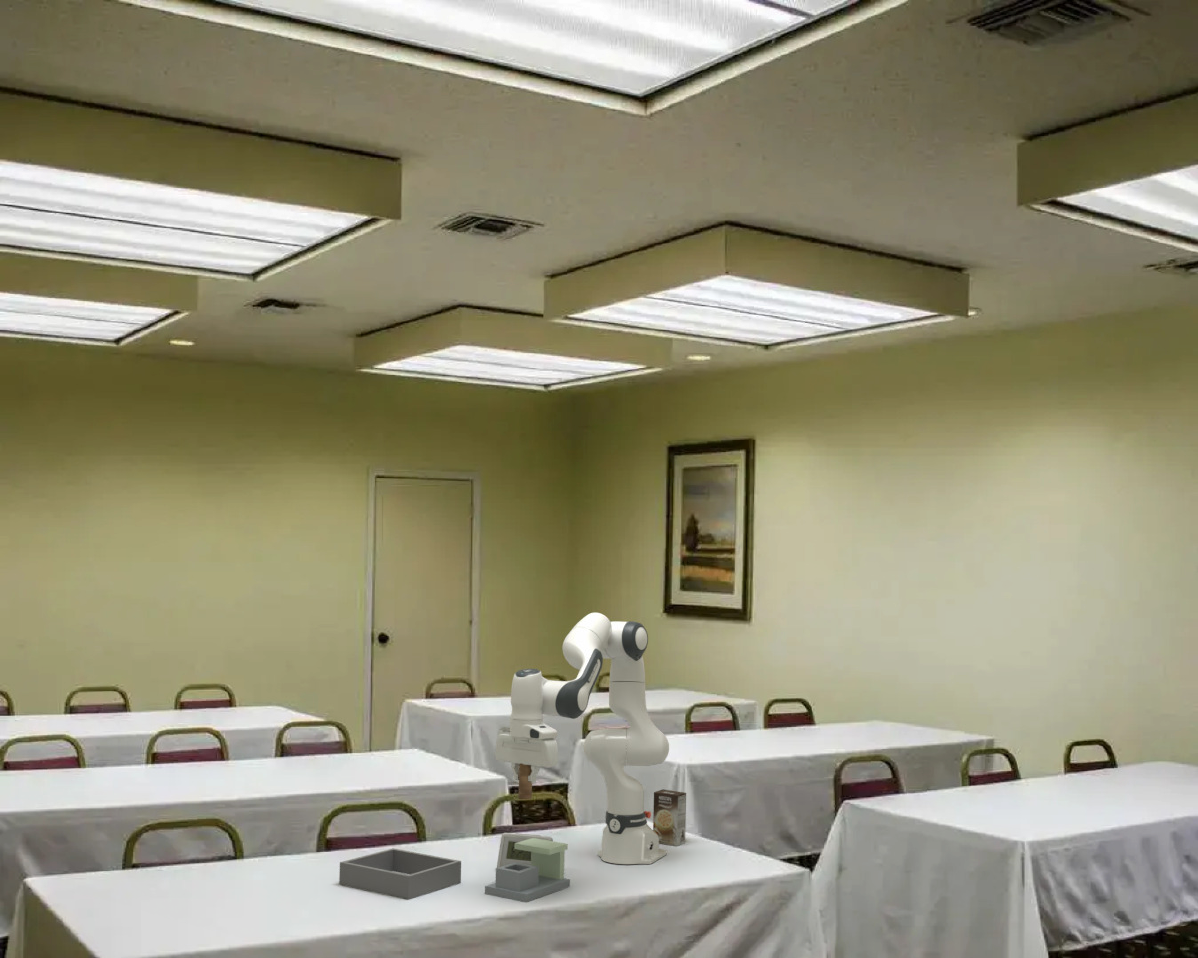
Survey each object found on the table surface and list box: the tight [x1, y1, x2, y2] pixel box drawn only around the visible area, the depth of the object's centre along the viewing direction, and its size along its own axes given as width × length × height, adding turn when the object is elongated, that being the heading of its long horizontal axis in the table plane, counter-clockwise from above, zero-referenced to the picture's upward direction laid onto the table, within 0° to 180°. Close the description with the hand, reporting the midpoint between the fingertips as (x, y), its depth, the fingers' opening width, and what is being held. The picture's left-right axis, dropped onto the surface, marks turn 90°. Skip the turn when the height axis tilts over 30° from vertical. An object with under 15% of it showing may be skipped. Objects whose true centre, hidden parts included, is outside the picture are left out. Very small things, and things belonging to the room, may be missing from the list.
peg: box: [518, 763, 533, 800], centre depth 348 cm, size 4×4×12 cm
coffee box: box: [652, 788, 687, 847], centre depth 412 cm, size 9×6×16 cm
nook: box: [484, 838, 571, 903], centre depth 351 cm, size 20×14×12 cm
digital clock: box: [496, 832, 554, 868], centre depth 370 cm, size 16×9×11 cm, turn 59°
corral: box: [338, 847, 462, 900], centre depth 355 cm, size 21×25×6 cm
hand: (525, 781), depth 348 cm, fingers closed on peg, 4 cm apart
